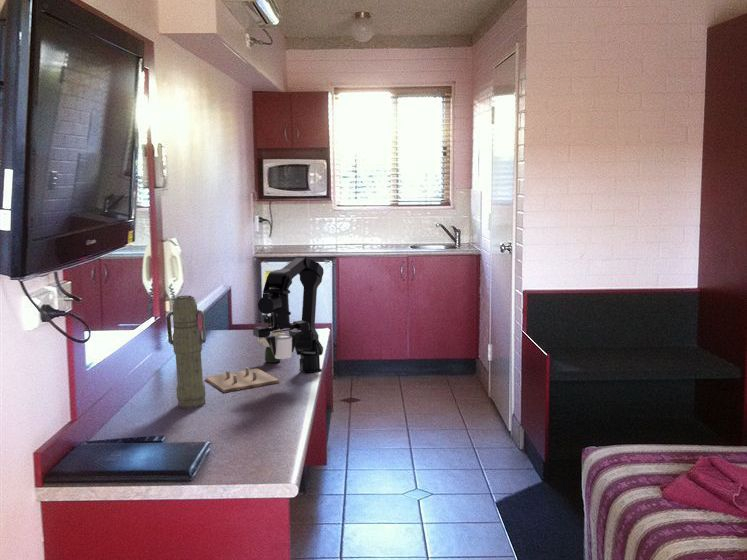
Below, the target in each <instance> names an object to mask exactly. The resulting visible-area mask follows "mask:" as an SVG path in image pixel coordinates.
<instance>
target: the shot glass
mask: <svg viewBox="0 0 747 560" xmlns="http://www.w3.org/2000/svg"><path fill="white" fill-rule="evenodd" d="M275 346H276V354H275V358H276V359H281V360H286V359H290V358H292V353H293V352H292V336H290V335H288V334H286V335H280V336H275Z"/></svg>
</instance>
